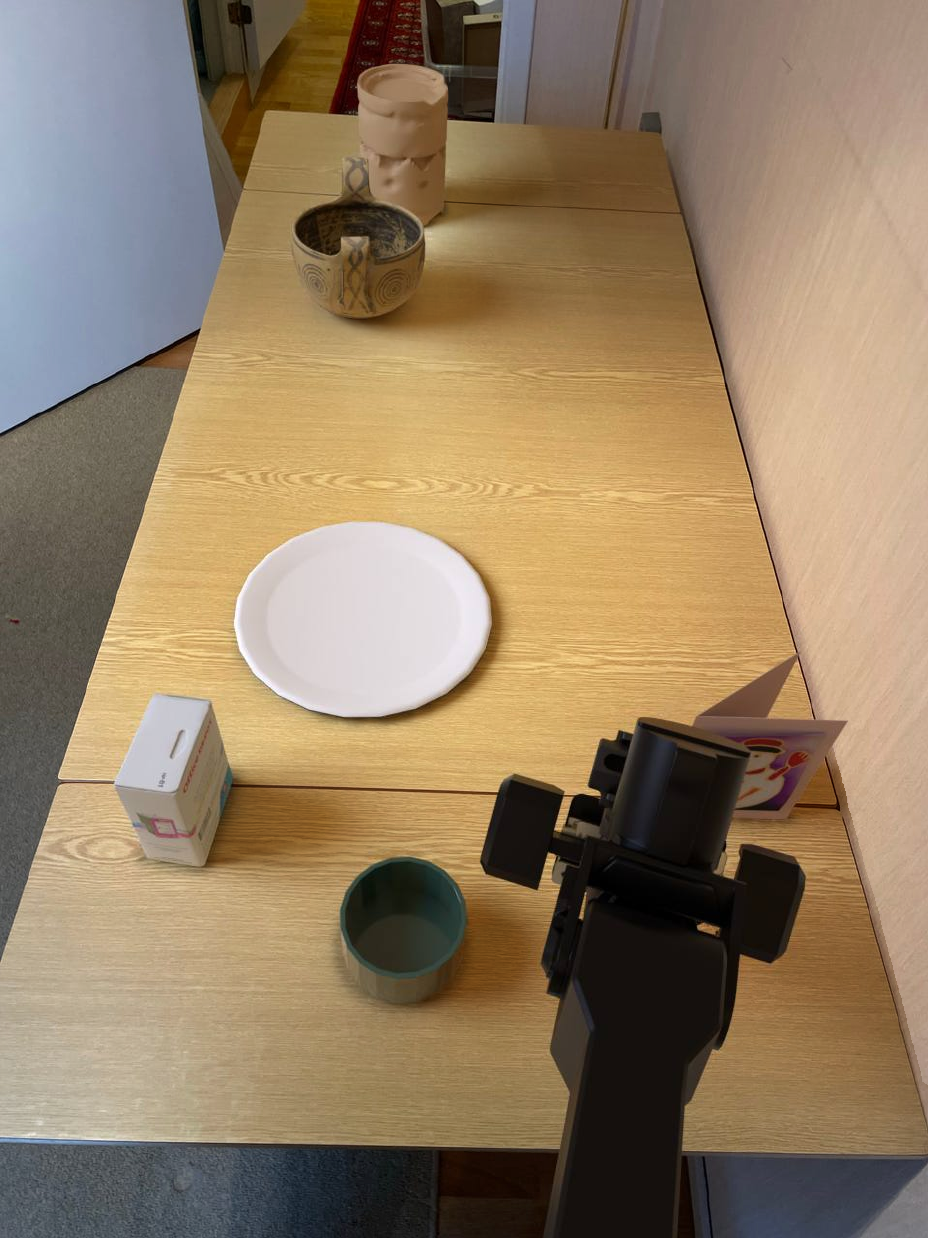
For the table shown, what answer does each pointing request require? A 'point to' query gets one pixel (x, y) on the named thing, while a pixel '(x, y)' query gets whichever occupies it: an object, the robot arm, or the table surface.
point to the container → (405, 136)
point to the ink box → (176, 779)
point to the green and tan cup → (403, 930)
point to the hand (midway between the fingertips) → (637, 830)
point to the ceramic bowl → (358, 249)
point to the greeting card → (770, 744)
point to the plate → (363, 619)
